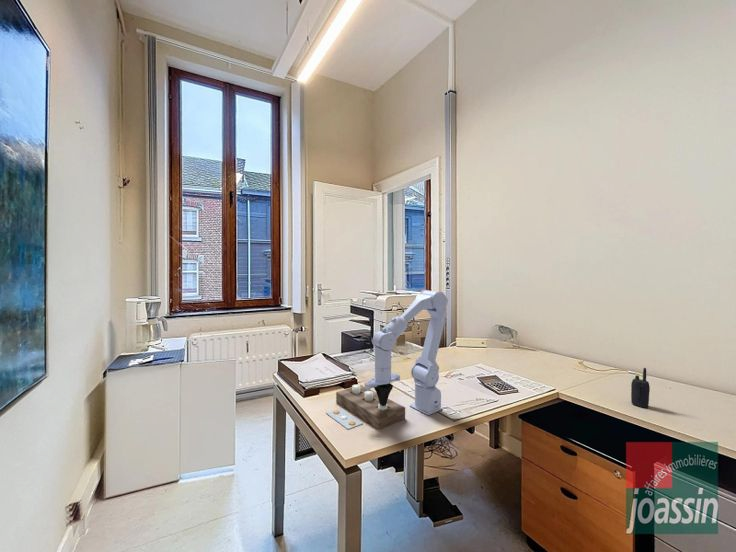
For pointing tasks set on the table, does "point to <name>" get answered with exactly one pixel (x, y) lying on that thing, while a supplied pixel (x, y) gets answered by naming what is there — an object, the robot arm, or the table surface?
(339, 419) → the pattern card
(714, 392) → the table surface
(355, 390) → the button
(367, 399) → the middle button
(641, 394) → the two-way radio
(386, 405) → the button
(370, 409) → the button box
